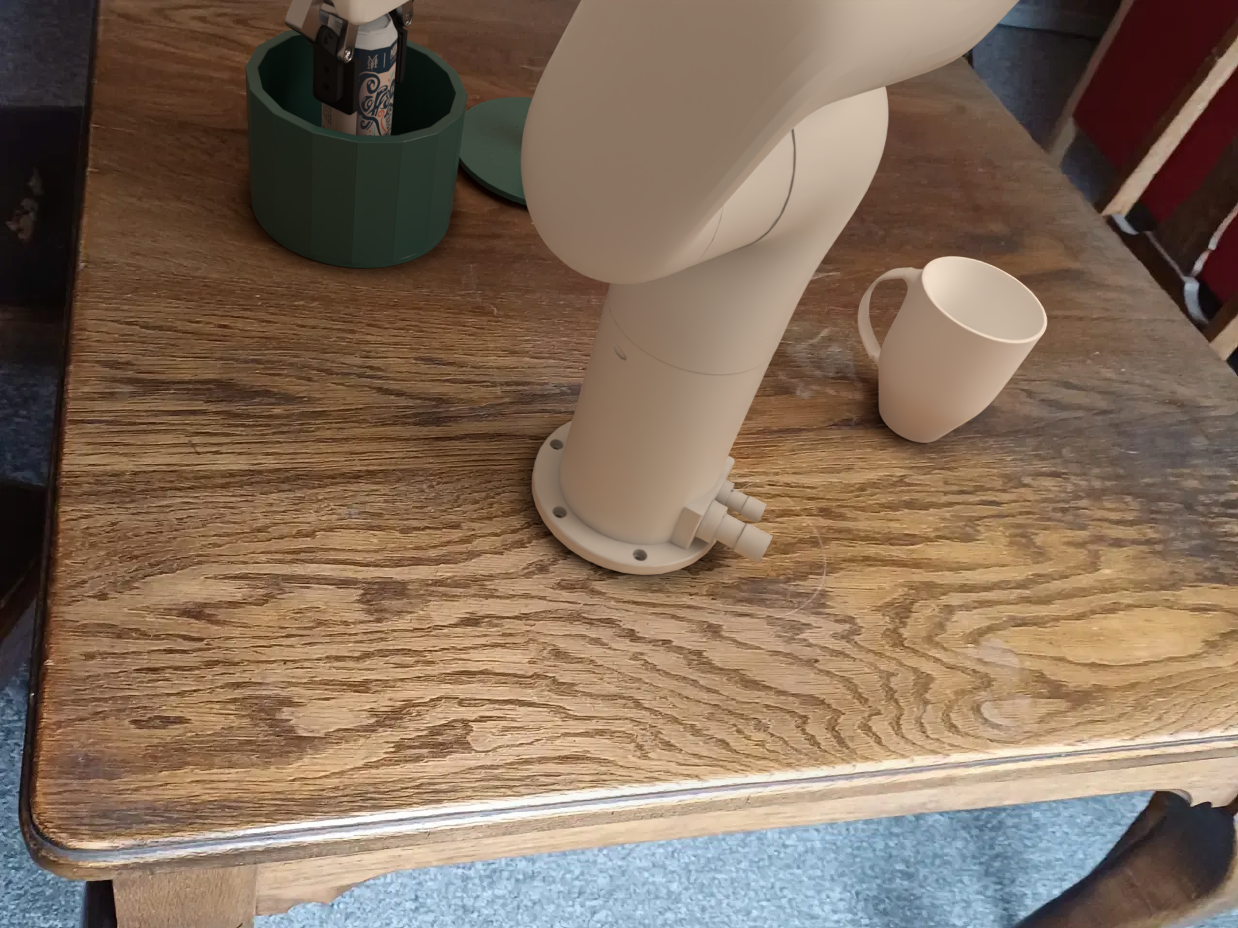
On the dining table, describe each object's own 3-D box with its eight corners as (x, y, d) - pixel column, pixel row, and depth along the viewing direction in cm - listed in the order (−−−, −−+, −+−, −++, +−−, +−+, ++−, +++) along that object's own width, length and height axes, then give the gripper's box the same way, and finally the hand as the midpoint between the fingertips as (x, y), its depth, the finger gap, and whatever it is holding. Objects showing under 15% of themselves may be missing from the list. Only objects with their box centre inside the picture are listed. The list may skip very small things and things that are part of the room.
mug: (986, 428, 81) (1069, 308, 72) (931, 483, 76) (1013, 361, 67) (861, 340, 85) (926, 215, 76) (800, 387, 79) (862, 259, 71)
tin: (484, 203, 86) (503, 84, 78) (379, 296, 76) (388, 170, 68) (330, 128, 88) (334, 4, 80) (208, 208, 78) (198, 76, 70)
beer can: (374, 197, 78) (383, 42, 69) (310, 177, 78) (312, 20, 69) (396, 163, 81) (408, 11, 72) (335, 144, 81) (339, -10, 72)
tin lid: (661, 160, 95) (680, 92, 91) (582, 243, 85) (599, 171, 80) (509, 88, 98) (520, 18, 93) (414, 160, 87) (421, 86, 82)
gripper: (338, -138, 55) (330, 165, 68) (504, -203, 66) (469, 68, 80) (218, -193, 56) (232, 116, 69) (400, -247, 68) (383, 27, 81)
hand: (359, 88), depth 74 cm, fingers closed on beer can, 4 cm apart
